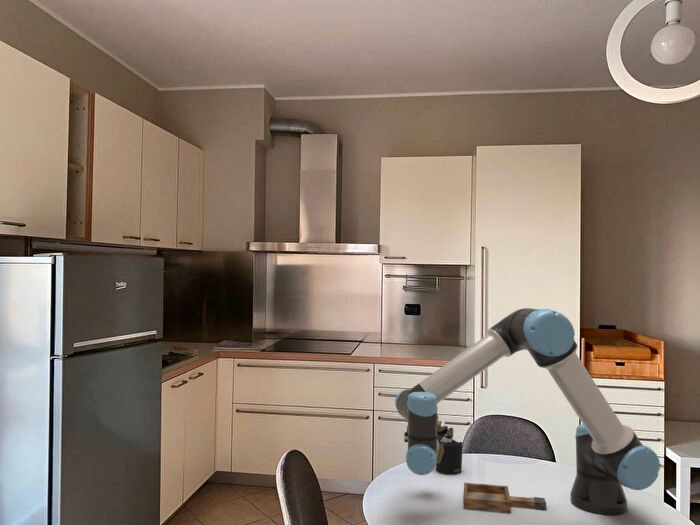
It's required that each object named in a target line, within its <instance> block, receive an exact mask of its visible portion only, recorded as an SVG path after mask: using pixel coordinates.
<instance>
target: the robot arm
mask: <svg viewBox="0 0 700 525" xmlns="http://www.w3.org/2000/svg"><path fill="white" fill-rule="evenodd" d="M575 335H576V334H575V328H574V326H573V323H572V322H571V321H570V320H569V318H567V316H565V315H564V314H562V313H561V312H560V311H559V312H558V311H556V310H553V309H551V308H550V309H548V308H540V309H539V308H530V307H529V308H527V307H525V308H519V309H516V310H515V311H513V312H511V313H510V314H508V315H506V316H505V317H504V318H502V319H501V320H500V321H499V322H497V323H496V324H494V325H493V326H491V327H489V329H488V330H487V333H486V335H485V336H483V337H481V339H479V340H478V341H476V342H475V343H474V344H472V345H471V346H469V347H468V348H467V349H465V350H464V351H462V352H461V353H460V354H458V355H456V357H454V358H453V359H451V360H450V361H449V362H447V363H446V364H444V365H443V366H441V367H439V369H437V370H436V371H434V372H432V374H430V375H429V376H427V377H426V378H425V379H423V380H422V381H420V382H419V383H417V384H416V385H415V386H413V387H412V388H409V389H403V390H401V391H399V392H398V393H397V394H396V396H395V399H394V400H395V401H394V403H395V404H394V406H395V408H396V410H397V413H398V414H399V415H400V416H401V417H403V418H404V419H405V421H407V426H406V431H404V433H403V436H404V437H403V438H404V439H403V440H404V443H407V452H405V454H406V455H405V463H406V466H407V468H408V469H409V470H410V472H412V473H413V474H415V475H417V476H427V475H428V474H430V473H431V472H432V471H433V470H434V469H435V468H436V464H437V456H438V451H439V447H440V444H442V442H445V444H448V445H452V439H453V438H454V428H453V427H448V425H445V424H446V423H445V421H444V420H443V421H441V429H439V430H437V414H438V410H439V407H438V404H439V403H440V402H443V400H445V399H447V397H449V396H450V395H451V394H453V393H454V392H455V391H456V392H457V390H458V389H460V388H462V387H463V386H464V385H466V384H467V383H469V382H470V381H471V380H473V379H475V377H477V376H478V375H480V374H481V373H483V372H484V371H485V370H486V369H488V368H489V367H491V366H492V365H494V364H495V363H496V362H498V361H499V360H500V359H502V358H504V357H505V358H506V357H507V358H510V357H511V356H512V355H514V354H515V353H517V352H520V351H525V350H526V351H528V352H529V354H530V356H531V357H532V359H533V360H534V362H535V363H536V365H537V366H538V367H539V368H541V369H545V370H547V371H548V373H549V374H550V376H551V377H552V379H553V381H554V382H555V384H556V385H557V387H558V388H559V389H560V391H561V392H562V394H563V396H564V397H565V399H566V400H567V402H568V403H569V405H570V407H571V409H572V410H573V412H575V414H576V416H577V417H578V419H579V420H580V422H581V424H578V425H577V427H576V428H575V436H574V437H575V438H574V439H575V450H576V451H575V454H576V457H575V458H576V460H575V462H576V474H575V475H576V476H575V477H574V478H575V479H574V482H573V485H572V487H571V490H570V503H572V505H574V506H575V507H577V508H579V509H580V510H583V511H586V512H590V513H593V514H594V513H595V514H600V515H609V516H610V515H615V516H616V515H620V514H625V513H626V512H627V511H628V499H627V497H626V494H625V491H624V489H623V487H624V488H628V489H631V490H633V491H643V490H645V489H647V488H649V487H651V486H652V485H653V484H654V483H655V481H656V480H657V479H658V477H659V471H660V470H661V464H660V463H661V462H660V459H659V457H658V455H657V453H656V452H655V451H654V449H652V448H650V447H649V446H647V445H645V444H643V443H642V442H641V441H640V438H638V436H637V434H636V433H635V431H634V430H633V429H632V428H631V427H630V426H629V425H625V424H623V423H622V422H621V421H620V419H619V417H618V416H617V415H616V413H615V411H614V410H613V408H612V406H610V404H609V402H608V400H607V399H606V398H605V396H604V395H603V393H602V391H601V390H600V388H599V387H598V385H597V384H596V382H595V380H594V379H593V378H592V376H591V375H590V373H589V371H588V369H587V368H586V367H585V365H584V364H583V362H582V361H581V359H580V358H579V356H578V355H577V350H578V344H577V342H576V340H575Z"/></svg>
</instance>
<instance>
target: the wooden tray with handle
mask: <svg viewBox="0 0 700 525" xmlns="http://www.w3.org/2000/svg"><path fill="white" fill-rule="evenodd" d="M513 507H514V508H524V509H533V510H538V509H539V510H540V511H546V510H547V502H546V498H545V497H537V496H533V497H524V496H523V497H522V496H511V495H510V490H509V486H508V485H502V484H501V485H500V484H489V483H488V484H485V483H477V482H476V483H475V482H464V481H463V509H464V510H474V511H483V510H484V512H494V513H504V512H507V513H506V514H511V513H512V510H511V509H512V508H513ZM539 510H538V511H539Z"/></svg>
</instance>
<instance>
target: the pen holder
mask: <svg viewBox="0 0 700 525" xmlns="http://www.w3.org/2000/svg"><path fill="white" fill-rule="evenodd" d="M443 446H444V453H443V456H442V459H441V462H440V463H439V464H436V466H435V469H436V471H437V472H438V473H440V474H442V473H444V475H448V474H454V475H458V474H457V473H459V474H461V472H462V470H463V468H462V467H463V441H459V442H458V441H456V440H455V439H453V438H452V445H448V444H445V442H443Z"/></svg>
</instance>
